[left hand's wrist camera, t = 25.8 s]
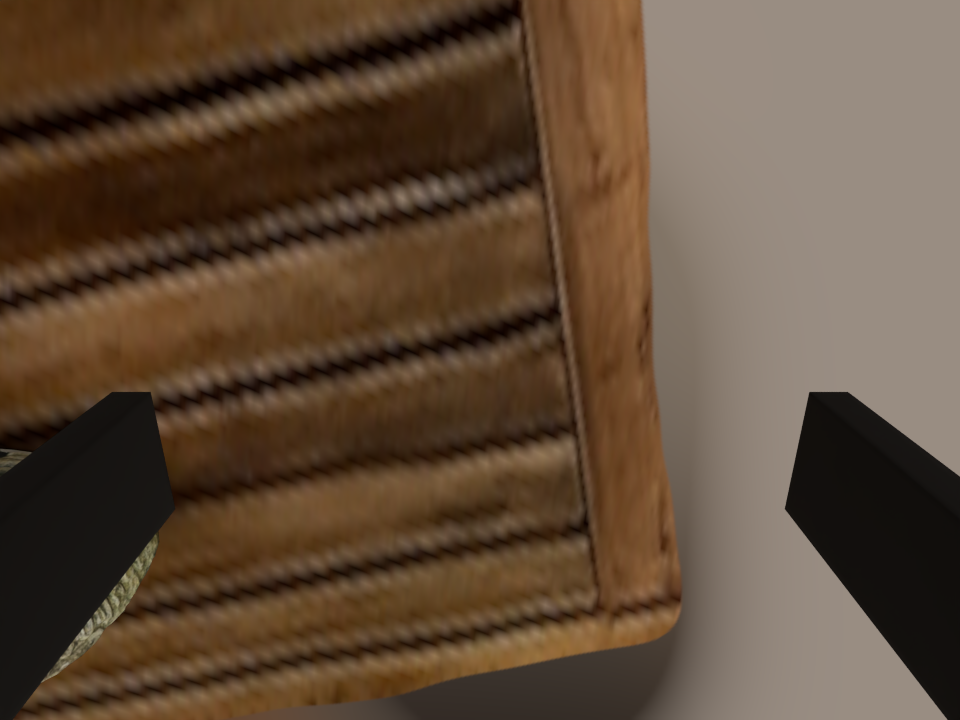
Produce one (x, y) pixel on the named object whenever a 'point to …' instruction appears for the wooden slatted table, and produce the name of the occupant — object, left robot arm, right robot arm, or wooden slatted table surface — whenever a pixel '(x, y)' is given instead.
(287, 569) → the wooden slatted table surface
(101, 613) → the fossil
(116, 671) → the wooden slatted table surface
